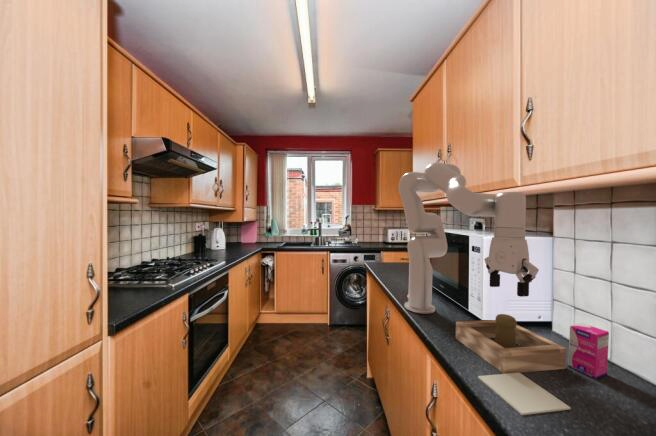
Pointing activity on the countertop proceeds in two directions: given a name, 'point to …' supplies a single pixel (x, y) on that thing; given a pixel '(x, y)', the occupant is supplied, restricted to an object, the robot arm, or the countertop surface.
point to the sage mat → (523, 393)
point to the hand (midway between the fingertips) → (507, 291)
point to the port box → (511, 360)
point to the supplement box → (588, 350)
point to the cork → (505, 331)
